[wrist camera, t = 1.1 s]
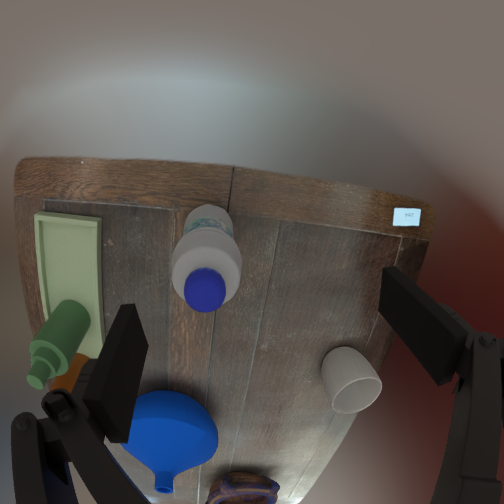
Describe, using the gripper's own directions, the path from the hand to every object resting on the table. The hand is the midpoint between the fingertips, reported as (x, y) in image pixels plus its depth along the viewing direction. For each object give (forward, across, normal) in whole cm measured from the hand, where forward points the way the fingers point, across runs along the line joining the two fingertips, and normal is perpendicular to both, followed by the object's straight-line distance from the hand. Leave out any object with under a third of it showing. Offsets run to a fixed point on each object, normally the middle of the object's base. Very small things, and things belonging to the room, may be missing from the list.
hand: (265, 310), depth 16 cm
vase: (+28, -17, -38) cm, 50 cm away
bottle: (+28, -4, -3) cm, 28 cm away
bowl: (+28, -8, -72) cm, 78 cm away
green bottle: (+27, -28, -15) cm, 41 cm away
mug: (+28, +15, -33) cm, 46 cm away
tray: (+28, -28, -15) cm, 42 cm away
